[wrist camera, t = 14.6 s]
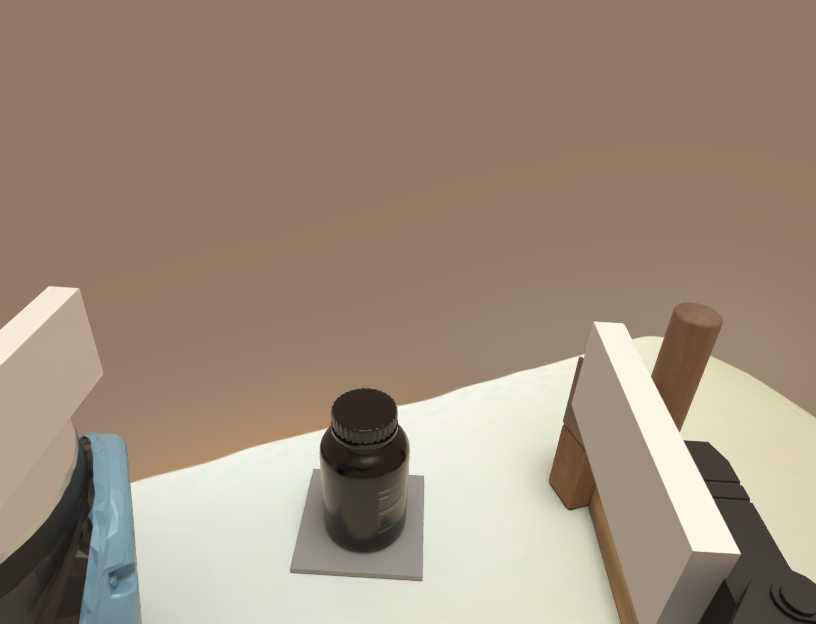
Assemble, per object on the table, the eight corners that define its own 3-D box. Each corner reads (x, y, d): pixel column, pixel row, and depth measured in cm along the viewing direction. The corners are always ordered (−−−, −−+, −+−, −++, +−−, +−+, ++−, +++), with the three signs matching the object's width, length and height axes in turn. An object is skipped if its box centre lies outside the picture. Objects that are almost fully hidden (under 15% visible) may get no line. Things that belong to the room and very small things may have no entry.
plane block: (627, 646, 41) (659, 576, 37) (588, 507, 51) (609, 440, 47) (713, 651, 41) (754, 582, 37) (657, 512, 51) (684, 445, 47)
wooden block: (546, 480, 53) (588, 314, 44) (643, 457, 57) (701, 297, 47) (568, 512, 51) (617, 341, 41) (669, 485, 54) (736, 321, 44)
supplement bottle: (395, 481, 52) (401, 374, 46) (415, 546, 46) (425, 434, 40) (317, 493, 50) (312, 384, 44) (328, 562, 45) (324, 448, 38)
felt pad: (290, 572, 44) (290, 568, 44) (313, 472, 53) (313, 469, 53) (421, 580, 44) (422, 576, 44) (423, 479, 53) (423, 475, 53)
